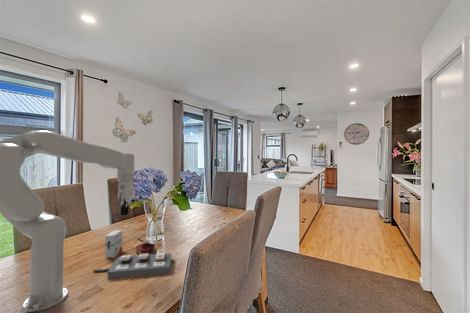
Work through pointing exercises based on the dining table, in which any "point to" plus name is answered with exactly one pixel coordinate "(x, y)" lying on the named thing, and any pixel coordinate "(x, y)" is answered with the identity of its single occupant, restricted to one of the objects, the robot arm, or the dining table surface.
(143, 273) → the power strip
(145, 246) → the dark red apple
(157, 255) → the rocker
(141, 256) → the rocker
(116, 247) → the ink box
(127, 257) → the rocker
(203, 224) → the dining table surface
